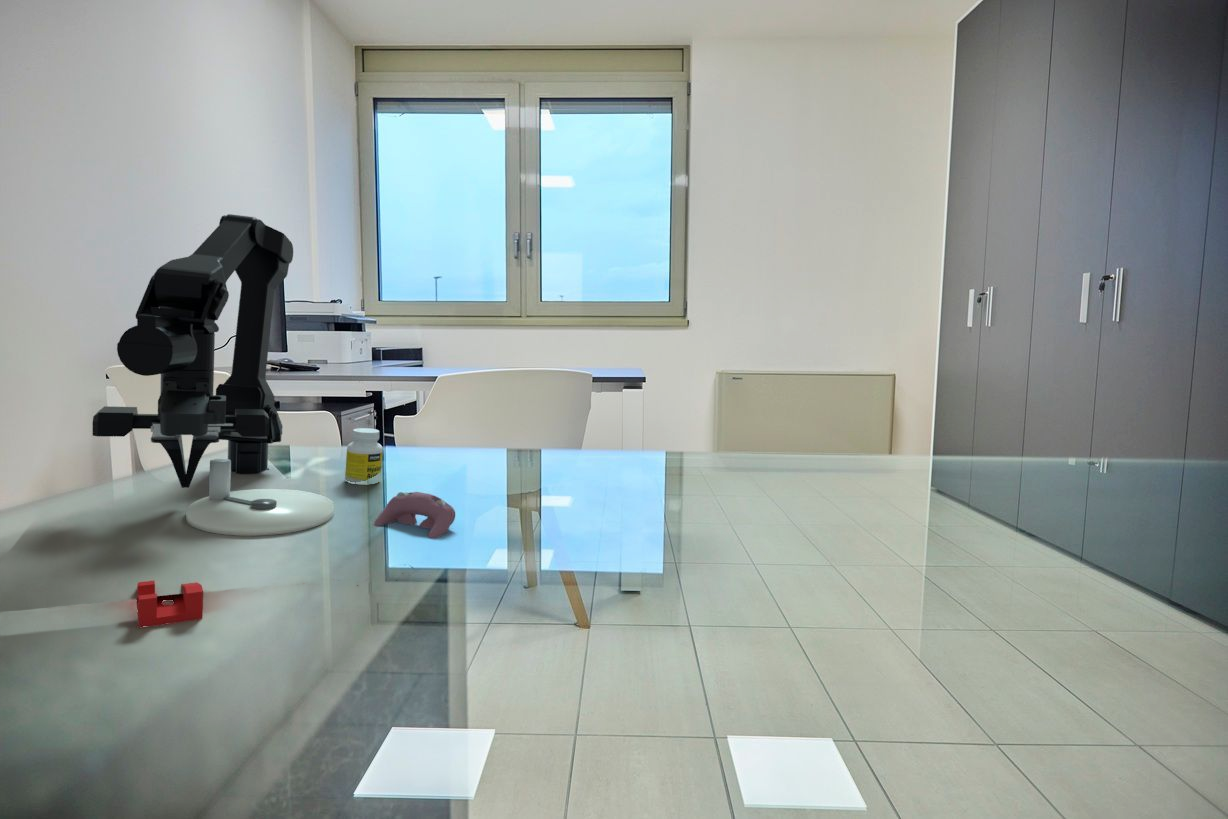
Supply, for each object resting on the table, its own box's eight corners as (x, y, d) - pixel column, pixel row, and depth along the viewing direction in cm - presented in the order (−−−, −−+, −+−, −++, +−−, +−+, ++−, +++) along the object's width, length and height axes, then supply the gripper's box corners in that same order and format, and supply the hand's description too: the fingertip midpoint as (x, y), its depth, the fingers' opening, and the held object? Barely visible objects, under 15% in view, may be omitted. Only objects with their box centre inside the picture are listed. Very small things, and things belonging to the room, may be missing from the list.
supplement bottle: (368, 496, 105) (371, 435, 104) (337, 491, 106) (340, 430, 105) (386, 488, 110) (390, 430, 109) (357, 483, 111) (360, 425, 110)
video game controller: (448, 554, 89) (464, 503, 91) (431, 548, 85) (449, 494, 87) (385, 539, 92) (402, 490, 94) (366, 532, 88) (384, 481, 90)
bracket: (202, 622, 62) (203, 591, 62) (138, 632, 60) (139, 599, 59) (195, 595, 68) (196, 566, 67) (136, 603, 65) (136, 573, 64)
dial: (188, 498, 91) (189, 455, 90) (324, 493, 99) (326, 453, 98) (183, 540, 76) (184, 489, 75) (342, 530, 85) (345, 484, 84)
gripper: (84, 372, 74) (84, 509, 76) (273, 379, 83) (269, 501, 85) (99, 361, 83) (99, 483, 85) (268, 369, 93) (264, 478, 95)
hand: (185, 487), depth 88 cm, fingers closed
